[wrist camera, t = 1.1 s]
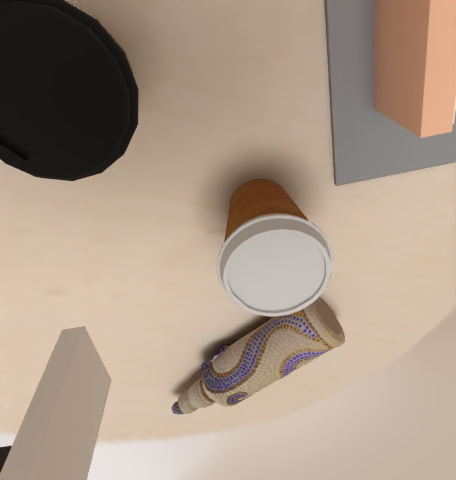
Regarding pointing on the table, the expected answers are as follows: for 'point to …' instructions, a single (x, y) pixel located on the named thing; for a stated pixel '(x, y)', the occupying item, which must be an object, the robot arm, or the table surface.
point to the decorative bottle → (263, 357)
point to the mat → (369, 106)
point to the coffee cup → (62, 91)
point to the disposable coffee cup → (272, 252)
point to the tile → (416, 64)
